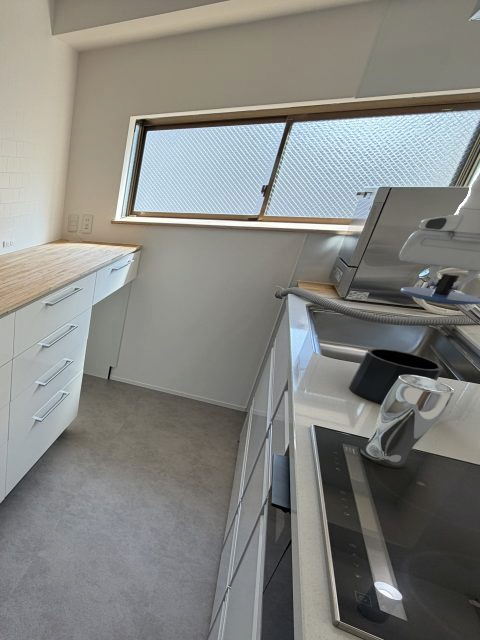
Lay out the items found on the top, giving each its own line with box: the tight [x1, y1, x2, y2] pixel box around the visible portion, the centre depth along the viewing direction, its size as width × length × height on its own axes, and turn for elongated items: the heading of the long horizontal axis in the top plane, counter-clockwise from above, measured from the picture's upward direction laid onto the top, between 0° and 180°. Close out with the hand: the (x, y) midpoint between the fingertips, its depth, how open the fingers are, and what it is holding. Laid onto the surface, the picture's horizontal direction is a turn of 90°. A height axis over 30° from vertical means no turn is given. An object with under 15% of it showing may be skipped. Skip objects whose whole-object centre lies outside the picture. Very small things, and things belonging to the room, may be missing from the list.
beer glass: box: [359, 375, 456, 469], centre depth 70 cm, size 7×7×15 cm
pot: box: [348, 348, 444, 405], centre depth 94 cm, size 12×12×10 cm
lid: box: [400, 272, 480, 306], centre depth 95 cm, size 14×14×6 cm
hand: (443, 287), depth 95 cm, fingers closed on lid, 2 cm apart
